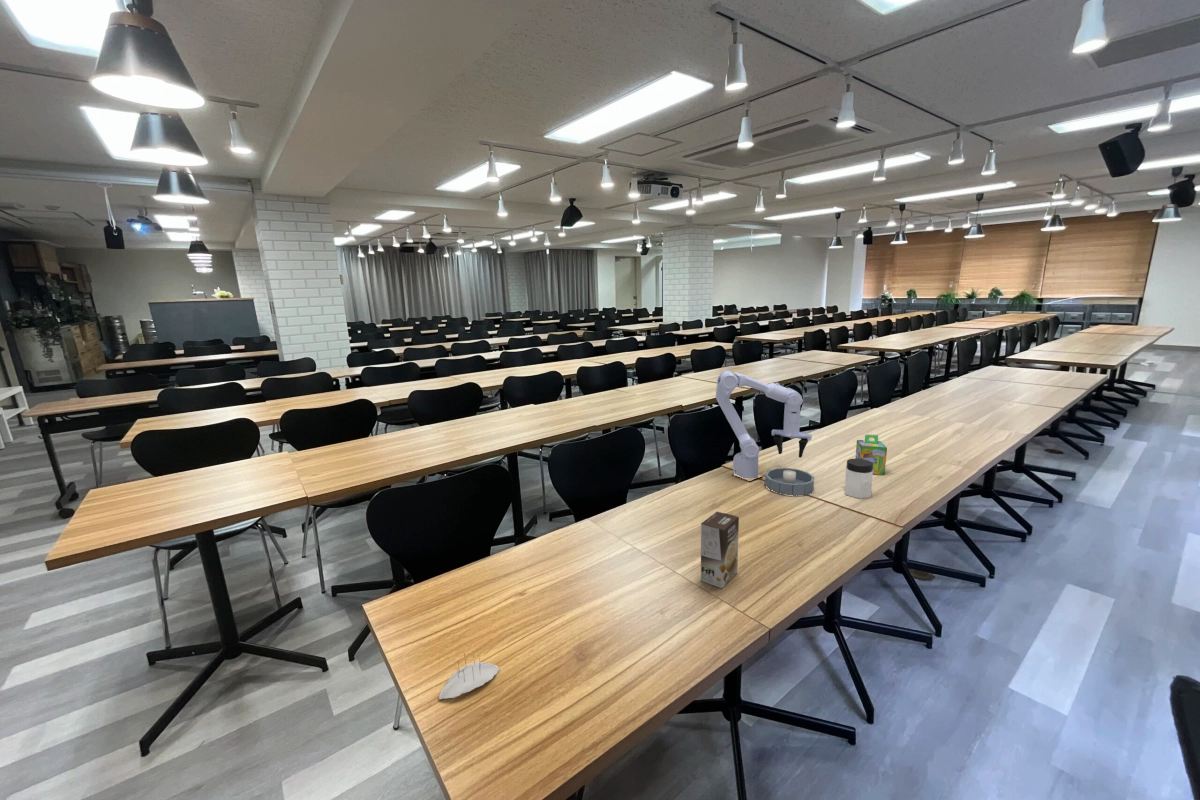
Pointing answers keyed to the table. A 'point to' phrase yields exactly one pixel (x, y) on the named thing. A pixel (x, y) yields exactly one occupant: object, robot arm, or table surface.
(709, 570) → the coffee box
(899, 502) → the table surface
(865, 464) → the jar
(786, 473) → the pebble
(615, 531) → the table surface
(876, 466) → the chalk box
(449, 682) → the pincushion
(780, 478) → the bowl
